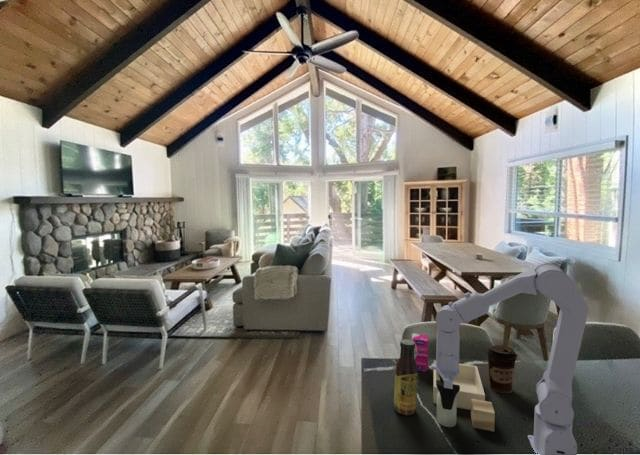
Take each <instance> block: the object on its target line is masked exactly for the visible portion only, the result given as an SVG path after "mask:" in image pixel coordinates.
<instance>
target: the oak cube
mask: <svg viewBox="0 0 640 455" xmlns="http://www.w3.org/2000/svg"><path fill="white" fill-rule="evenodd" d="M495 413H496V412H495V410H494V405H493V403H492V402H491V401H487V400H485V401H482V400H476V399H471V410H470V419H471V423H472V428H474V429H479V430H484V431H489V430H490V431H489V432H495V423H496V421H495V419H496V415H495Z"/></svg>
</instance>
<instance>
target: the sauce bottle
mask: <svg viewBox="0 0 640 455" xmlns="http://www.w3.org/2000/svg"><path fill="white" fill-rule="evenodd" d="M399 345H400V356H399V357H398V359H397V361H396V364H395V372H394V374H395V375H394V390H393V391H394V392H393V403H394V404H393V407H394V410H395V411H396V412H397V413H398V414H400V415H404V416H412V415H414V413H416V409H417V401H418V399H417V398H418V381H419V380H418V378H419V371H417V365H416V361H415V359H414V349H415V342H414V341H412V339H405V338H404V339H401V340H400V344H399Z"/></svg>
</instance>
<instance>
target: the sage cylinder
mask: <svg viewBox="0 0 640 455" xmlns="http://www.w3.org/2000/svg"><path fill="white" fill-rule="evenodd" d="M457 411H458V410H457V397H456V396H455V399H454V403H453V407H452V409H451V410H448V409H443V407H442V402H441V396H440V392H438V393H437V404H436V422H438V423H439V425H440V426H443V427H446V428H453V427H455V426H456V425H457V413H458V412H457Z"/></svg>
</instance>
